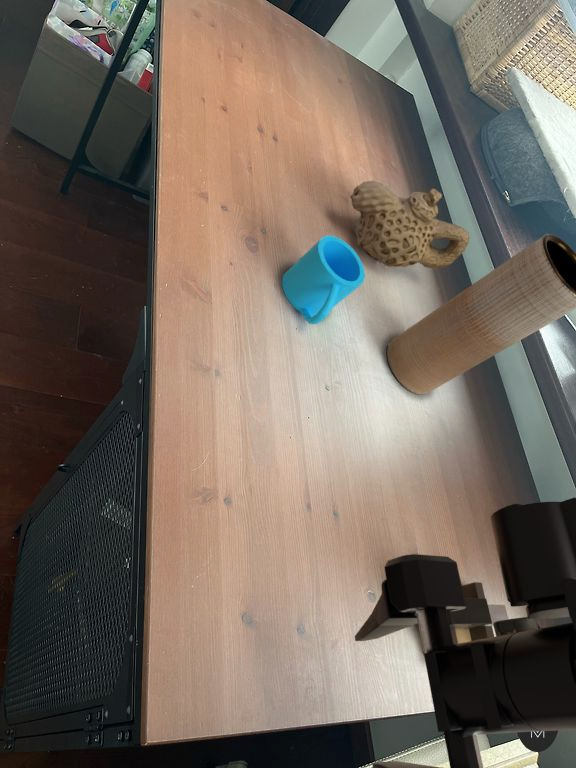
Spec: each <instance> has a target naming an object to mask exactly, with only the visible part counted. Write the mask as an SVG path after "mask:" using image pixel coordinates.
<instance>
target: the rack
mask: <svg viewBox="0 0 576 768" xmlns="http://www.w3.org/2000/svg"><path fill="white" fill-rule="evenodd" d="M461 585H462V589H463V594H464V598H482V599H486V596H485V595H486V594H485V591H484V586H483V583H482V582H479V581H474V582H470V583H467V584H461ZM451 634H452V639H453V644H458V643H464V642H469V641H475V640H480V639H486V638H491V637H495V632H494V627H493V626H479V627H474V628H454V629H451Z"/></svg>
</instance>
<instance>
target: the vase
mask: <svg viewBox="0 0 576 768" xmlns="http://www.w3.org/2000/svg"><path fill="white" fill-rule="evenodd" d="M575 310H576V252H575V251H574V249H573V248H572V247H571V246H570V245H569V244H568V243H567V242H566V241H564V240H563V239H562V238H560V237H559V236H558V235H555V234H552V233H545V234H544V235H543V236H541V237H539V238H538V239H537V240H535V241H534V242H532V243H531V244H529V245H528V246H526V247H525V248H523V249H522V250H520V251H519V252H518V253H516V254H515V255H513V256H512V257H510V258H509V259H507V260H506V261H504V262H502V264H500V265H499V266H497V267H496V268H494V269H493V270H491V271H489V273H487V274H486V275H484V276H483V277H481V278H480V279H478V280H477V281H476V282H474V283H472V284H471V285H470V286H468V287H467V288H465V289H464V290H462V291H460V292H459V293H458V294H456V295H454V297H452V298H450V299H449V300H448V301H446V302H445V303H443V304H442V305H441V306H439V307H437V308H436V309H435V310H433V311H432V312H430V313H429V314H427V315H426V316H424V317H423V318H421V319H420V320H419V321H417V322H416V323H414V324H413V325H411V326H410V327H408V328H407V329H405V330H404V331H402V332H401V333H400V334H398V335H397V336H395V337H394V338H393V339H391V340H390V342H389V343H388V345H387V350H386V358H387V362H388V365H389V366H388V367H389V369H390V370H391V372H392V375H394V378H395V379H396V380H397V382H399V383H400V385H401V386H403V387H404V389H406V390H407V391H409V392H410V393H413V394H416V395H420V396H421V395H426V394H428V393H430V392H432V391H434V390H436V389H437V388H439V387H441V386H443V385H445V384H446V383H448V382H450V381H451V380H453V379H455V378H457V377H459V376H461V375H462V374H464V373H466V372H467V371H469V370H471V369H472V368H474V367H476V366H478V365H479V364H482V363H483V362H485V361H487V360H489V359H490V358H492V357H494V356H496V355H497V354H499V353H501V352H503V351H504V350H506V349H508V348H509V347H511V346H513V345H514V344H517V343H518V342H521V340H523V339H525V338H527V337H529V336H530V335H532V334H535V333H536V332H538V331H539V330H541V329H543V328H545V327H546V326H548V325H550V324H552V323H554V322H555V321H556V320H557V321H558V320H559V319H560V318H563V317H564V316H566V315H568V314H569V313H570V312H573V311H575Z"/></svg>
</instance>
